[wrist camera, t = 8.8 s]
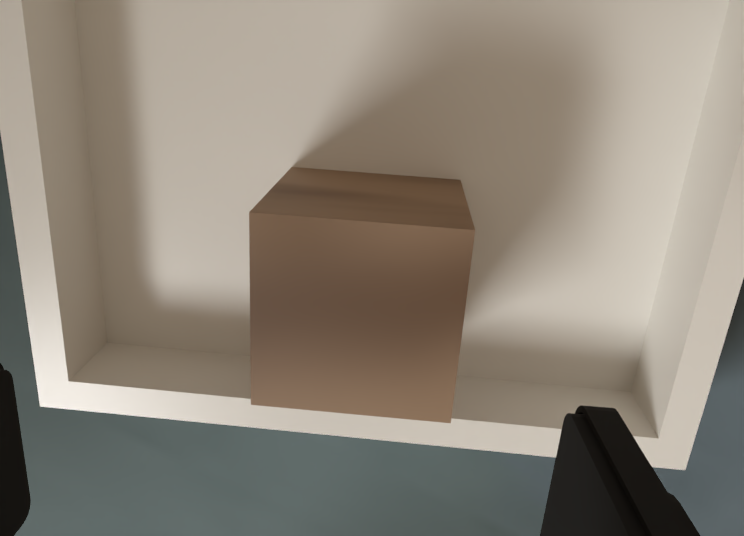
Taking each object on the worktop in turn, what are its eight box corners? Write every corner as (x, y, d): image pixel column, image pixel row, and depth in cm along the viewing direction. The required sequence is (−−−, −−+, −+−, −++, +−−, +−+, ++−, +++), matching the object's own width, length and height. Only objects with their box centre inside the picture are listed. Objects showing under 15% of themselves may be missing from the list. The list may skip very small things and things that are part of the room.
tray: (644, 404, 22) (685, 470, 18) (95, 351, 22) (39, 406, 19) (868, -448, 14) (1009, -598, 10) (8, -483, 14) (-111, -632, 11)
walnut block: (443, 332, 20) (450, 423, 15) (289, 318, 20) (250, 404, 16) (460, 179, 18) (475, 230, 14) (291, 166, 18) (249, 212, 14)
